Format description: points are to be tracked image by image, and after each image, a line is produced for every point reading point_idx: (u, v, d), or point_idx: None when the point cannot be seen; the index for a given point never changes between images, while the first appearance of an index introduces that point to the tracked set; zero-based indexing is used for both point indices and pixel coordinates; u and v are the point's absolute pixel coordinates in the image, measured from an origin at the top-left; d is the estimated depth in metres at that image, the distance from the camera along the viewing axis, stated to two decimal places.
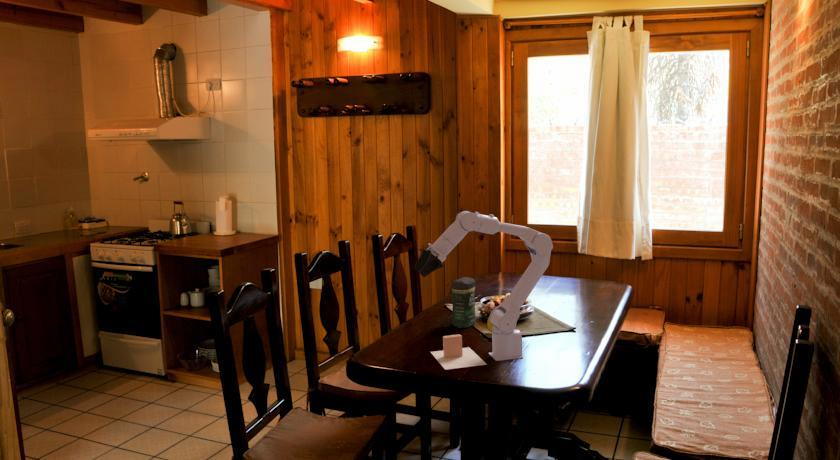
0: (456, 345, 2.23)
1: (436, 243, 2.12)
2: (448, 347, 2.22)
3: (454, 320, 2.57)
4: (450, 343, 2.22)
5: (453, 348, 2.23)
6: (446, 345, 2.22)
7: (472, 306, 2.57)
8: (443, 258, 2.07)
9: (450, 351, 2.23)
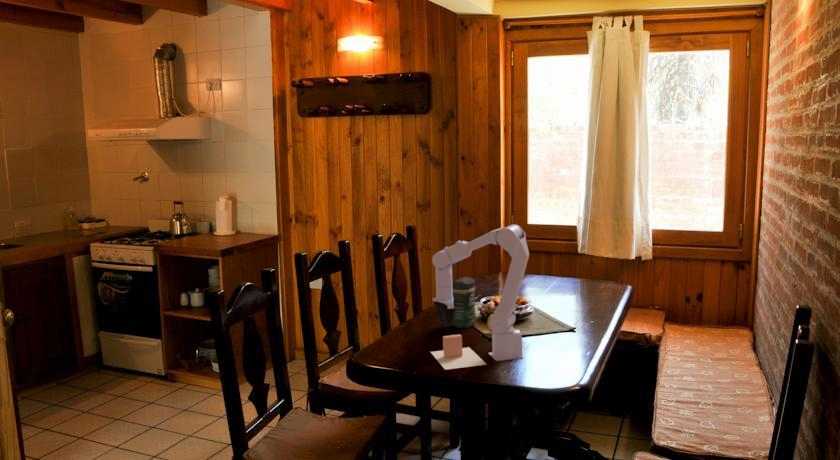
0: (456, 345, 2.23)
1: (437, 295, 2.27)
2: (448, 347, 2.22)
3: (454, 320, 2.57)
4: (450, 343, 2.22)
5: (453, 348, 2.23)
6: (446, 345, 2.22)
7: (472, 306, 2.57)
8: (451, 305, 2.23)
9: (450, 351, 2.23)
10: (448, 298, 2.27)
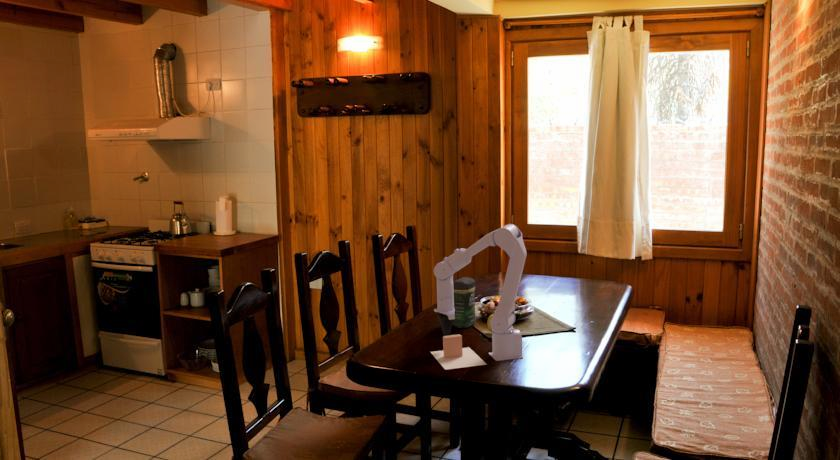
0: (456, 345, 2.23)
1: (439, 306, 2.27)
2: (448, 347, 2.22)
3: (454, 320, 2.57)
4: (450, 343, 2.22)
5: (453, 348, 2.23)
6: (446, 345, 2.22)
7: (472, 306, 2.57)
8: (452, 316, 2.22)
9: (450, 351, 2.23)
10: (449, 309, 2.26)
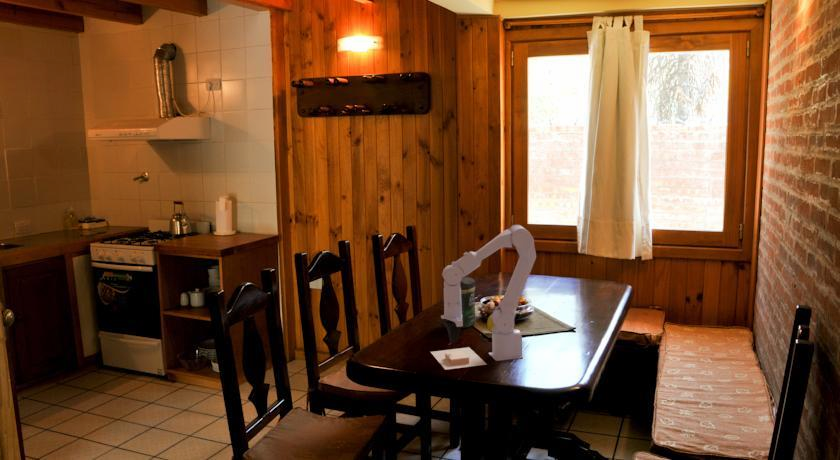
0: None
1: (446, 312, 2.19)
2: None
3: None
4: None
5: None
6: None
7: (472, 306, 2.57)
8: (460, 323, 2.14)
9: None
10: (457, 315, 2.18)
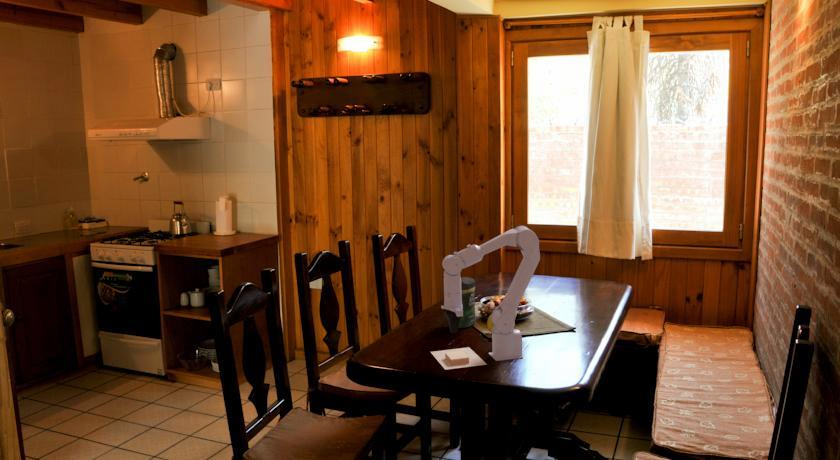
0: None
1: (446, 302, 2.18)
2: None
3: None
4: None
5: None
6: None
7: (472, 306, 2.57)
8: (460, 313, 2.13)
9: None
10: (457, 305, 2.17)
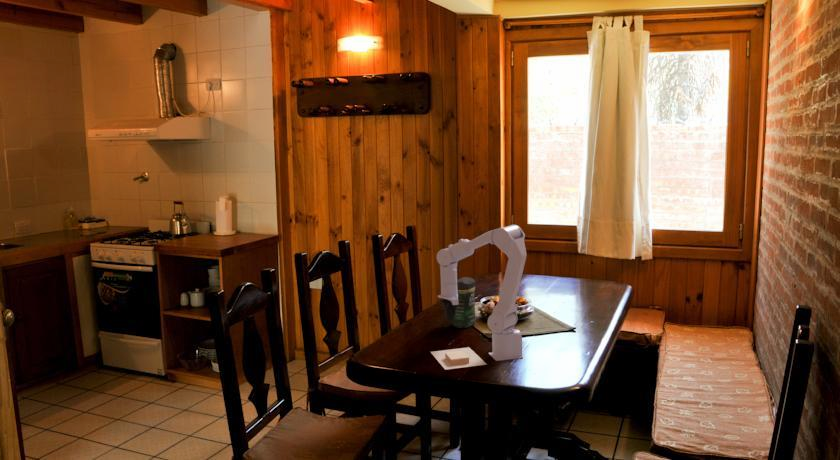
0: None
1: (442, 292, 2.32)
2: None
3: (454, 320, 2.57)
4: None
5: None
6: None
7: (472, 306, 2.57)
8: (456, 301, 2.27)
9: None
10: (453, 295, 2.31)
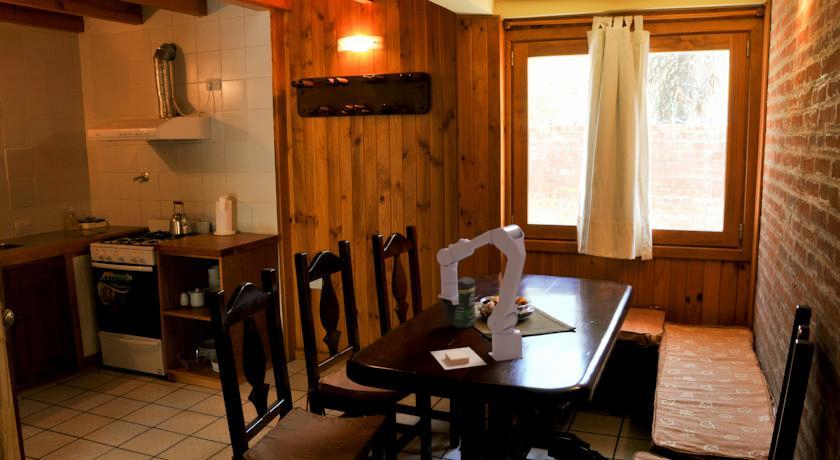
0: None
1: (443, 291, 2.32)
2: None
3: (454, 320, 2.57)
4: None
5: None
6: None
7: (472, 306, 2.57)
8: (456, 301, 2.27)
9: None
10: (453, 294, 2.31)
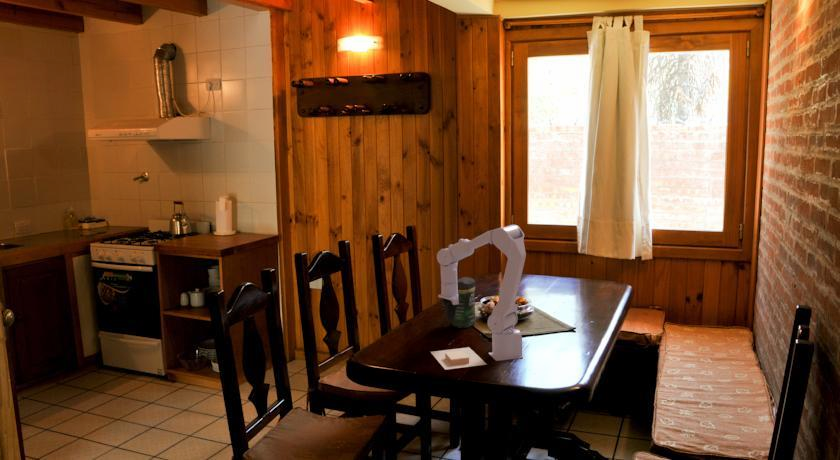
0: None
1: (443, 291, 2.32)
2: None
3: (454, 320, 2.57)
4: None
5: None
6: None
7: (472, 306, 2.57)
8: (456, 301, 2.27)
9: None
10: (453, 294, 2.31)
